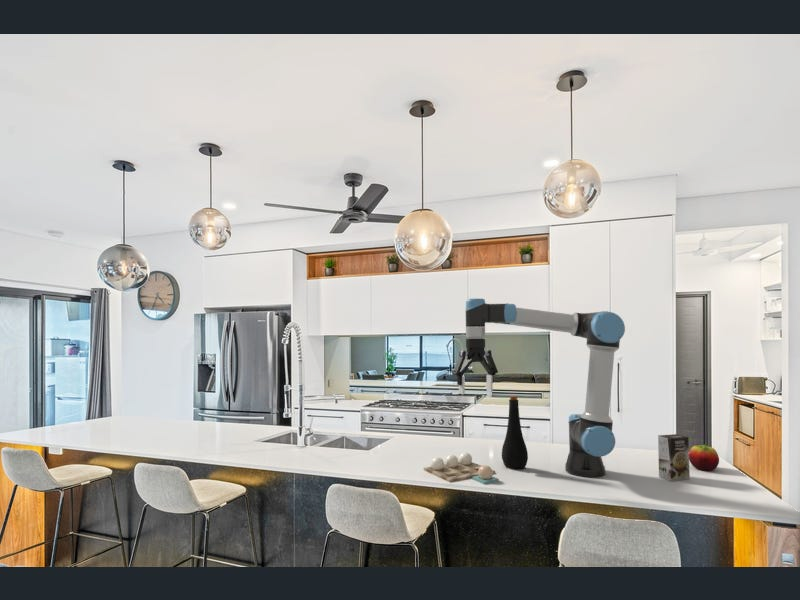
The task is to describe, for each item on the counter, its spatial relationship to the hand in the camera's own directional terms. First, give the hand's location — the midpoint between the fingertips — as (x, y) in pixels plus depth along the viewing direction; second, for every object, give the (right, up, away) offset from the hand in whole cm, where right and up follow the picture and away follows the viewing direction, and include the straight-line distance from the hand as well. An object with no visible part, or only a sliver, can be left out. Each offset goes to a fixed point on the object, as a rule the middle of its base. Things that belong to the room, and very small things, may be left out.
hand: (475, 392), depth 193 cm
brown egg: (+3, -32, -6) cm, 32 cm away
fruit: (+96, -34, +11) cm, 102 cm away
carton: (-6, -34, +5) cm, 35 cm away
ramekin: (+3, -33, -6) cm, 34 cm away
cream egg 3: (-2, -33, +13) cm, 36 cm away
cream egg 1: (-14, -33, +6) cm, 36 cm away
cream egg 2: (-8, -33, +10) cm, 35 cm away
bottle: (+18, -34, +12) cm, 40 cm away
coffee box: (+77, -33, -1) cm, 84 cm away
